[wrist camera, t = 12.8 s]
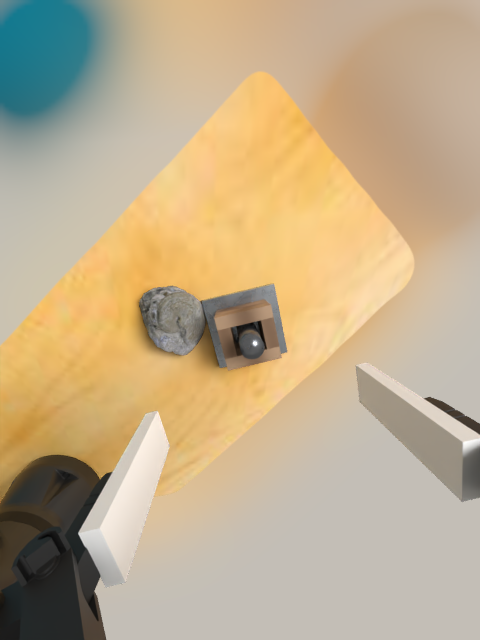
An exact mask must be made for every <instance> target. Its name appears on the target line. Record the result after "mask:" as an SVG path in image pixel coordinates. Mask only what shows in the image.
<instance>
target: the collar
mask: <svg viewBox="0 0 480 640" xmlns="http://www.w3.org/2000/svg"><path fill="white" fill-rule="evenodd" d="M214 320H215V323H216V327H217V331H218V335H219V338H220V342H221V346H222V350H223V354H224V357H225V361H226V365H227V369H228V371H229V370H233V369H237V368H241V367H246V366H250V365H254V364H258V363H262V362H267V361H271V360H275V359H279V358H282V357H281V352H280V347H279V342H278V337H277V332H276V327H275V322H274V317H273V312H272V307H271V304H270V303H268V302H267V301H266V300H265V299H263V300H258V301H254V302H250V303H246V304H241V305H237V306H233V307H229V308H225V309H220V310H216V314H215V317H214ZM256 321H258V325H259V330H260V334H261V339H262V341H263V343H264V347H265V348H264V352H263V354H262V355H261V356H260V357H259V358H257V359H247V358H245V357H244V356H243V355H242V353H241V351H240V344H239V342H238V343H236V342H235V338H234V334H233V330H232V327H234V326H239V325H243V324H247V323H251V322H256Z"/></svg>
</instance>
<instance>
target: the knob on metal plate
mask: <svg viewBox="0 0 480 640" xmlns="http://www.w3.org/2000/svg"><path fill="white" fill-rule="evenodd" d="M263 299H265V300H266V301H267V302H268V303H270V304H271V307H272V312H273V317H274V322H275V327H276V332H277V337H278V342H279V347H280V352H281V353H285V352H287V348H286V343H285V338H284V333H283V327H282V322H281V317H280V312H279V307H278V302H277V297H276V292H275V286H274V284H269V285H265V286H260V287H256V288H252V289H248V290H244V291H239V292H235V293H231V294H227V295H223V296H219V297H214V298H210V299H206V300H202V305H203V308H204V312H205V315H206V319H207V323H208V326H209V330H210V334H211V337H212V341H213V345H214V348H215V352H216V355H217V359H218V363H219V366H220V368H223V367H227V365H226V361H225V357H224V354H223V350H222V346H221V342H220V338H219V335H218V331H217V327H216V323H215V320H214V317H215V314H216V310H220V309H225V308H229V307H233V306H237V305H241V304H246V303H250V302H254V301H258V300H263ZM232 330H233V334H234V338H235V342H236V343H238V342H239V344H240V351H241V353H242V355H243V356H244V357H245V358H247V359H257V358H259V357H260V356H261V355H262V354H263V352H264V348H265V347H264V343H263V341H262V339H261V334H260V330H259V325H258V321H256V322H251V323H247V324H243V325H239V326H234V327H232Z"/></svg>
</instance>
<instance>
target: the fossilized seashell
mask: <svg viewBox="0 0 480 640" xmlns="http://www.w3.org/2000/svg"><path fill="white" fill-rule="evenodd" d="M139 307H140V309H141V313H142V316H143V321H144V324H145V326H146V328H147V330H148V334H149V337H150V338H151V339H152V340H153V341H154V343H155V345H156V346H157V347H159V348H161V349H162V350H164V351H166V352H172V351H173V352H174V353H175V354H179V355H187V354H188V353H189V352H190V351H192V350H193V348H194V346H196V345H197V343H198V342H199V340H200V338H201V337H202V334H203V331H204V328H205V323H206V321H205V320H206V317H205V312H204V308H203V305H202V303H201V302H200V301H199V300H198V299H197V298H195V297H194V296H193V295H191V294H189V293H187V292H186V291H184V290H182V289H180V288H177V287H175V286H168V287H163V288H161V287H158V288H153V289H151V290H149V291H148V292H146V293H144V295H143V296H142V298H141V299H140V302H139Z"/></svg>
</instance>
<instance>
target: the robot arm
mask: <svg viewBox="0 0 480 640" xmlns="http://www.w3.org/2000/svg"><path fill="white" fill-rule="evenodd" d="M356 372H357V381H358V391H359V400H360V403H361V404H363V406H364V407H365V408H367V410H369V411H370V412H371V413H372V414H373V415H374V416H375V417H376V418H377V419H378V420H379V421H380V422H381V423H382V424H383V425H384V426H385V427H386V428H387V429H388V430H389V431H390V432H391V433H392V434H393V435H394V436H395V437H396V438H397V439H398V440H399V441H400V442H401V443H402V444H403V445H404V446H405V447H406V448H407V449H409V450H410V452H412V453H413V454H414V455H415V456H416V457H417V458H418V459H419V460H420V461H421V462H422V463H423V464H424V465H425V466H426V467H427V468H428V469H429V470H430V471H431V472H432V473H433V474H434V475H435V476H436V477H437V478H438V479H439V480H440V481H441V482H442V483H443V484H444V485H445V486H446V487H447V488H448V489H450V491H451V492H452V493H454V494H455V495H456V496H457V497H458V498H459V499H460V500H461V501H462V502H463V501H467V500H472V499H476V498H480V424H479V423H477V422H476V421H474V420H472V419H471V418H469V417H467V416H465V415H464V414H462V413H461V412H459V411H457V410H455V409H454V408H452V407H451V406H449V405H447V404H446V403H444V402H442V401H439V400H436V399H434V398H431V397H428V398H422V397H420V396H419V395H417V394H416V393H414V392H412V391H411V390H409V389H408V388H406V387H405V386H403V385H402V384H400V383H398V382H397V381H395V380H394V379H392V378H391V377H389V376H387V375H386V374H385V373H383V372H381V371H380V370H378V369H377V368H375V367H374V366H372V365H370V364H369V363H362V364H358V365H356ZM169 447H170V445H169V442H168V439H167V436H166V434H165V431H164V428H163V425H162V422H161V419H160V416H159V413H158V411H154V412H150V413H146V414H145V416H144V418H143V419H142V421H141V423H140V425H139V427H138V428H137V430H136V432H135V434H134V435H133V437H132V439H131V441H130V442H129V444H128V446H127V448H126V450H125V451H124V453H123V455H122V457H121V458H120V460H119V462H118V464H117V465H116V467H115V469H114V471H113V472H110V473H106V474H105V475H104V476H103V477H102V478H101V479H99V477H98V476H97V474H96V473H95V472H94V471H93V470H92V469H91V468H90V467H89V466H88V465H87V464H85V463H83V462H82V461H80V460H77V459H75V458H72V457H68V456H61V455H53V456H46V457H42V458H39V459H37V460H35V461H33V462H32V463H30V464H29V465H28V466H27V467H26V468H25V469H24V470H23V471H22V472H21V473H20V474H19V475H18V476H17V477H16V478H15V479H14V481H13V482H12V484H11V486H10V488H9V490H8V492H7V493H6V495H5V496H4V498H3V499H2V501H1V503H0V640H106V636H105V631H104V627H103V622H102V617H101V613H100V608H99V603H98V598H97V595H96V593H95V592H94V590H95V588H96V585H97V583H98V581H99V578H100V577H101V579H102V581H103V583H104V585H105V587H109V586H113V585H117V584H122V583H125V582H126V580H127V577H128V574H129V571H130V568H131V565H132V562H133V558H134V555H135V552H136V549H137V546H138V543H139V540H140V537H141V534H142V530H143V528H144V524H145V521H146V518H147V515H148V512H149V509H150V506H151V503H152V500H153V497H154V494H155V490H156V487H157V484H158V481H159V478H160V475H161V472H162V469H163V466H164V463H165V460H166V456H167V453H168V450H169Z"/></svg>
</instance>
